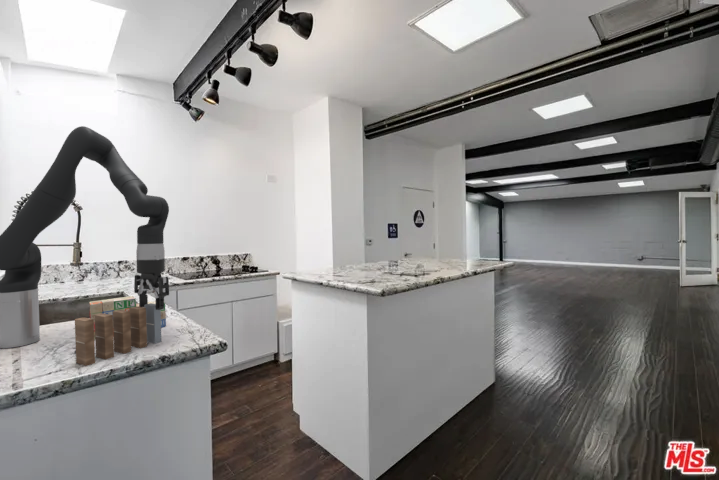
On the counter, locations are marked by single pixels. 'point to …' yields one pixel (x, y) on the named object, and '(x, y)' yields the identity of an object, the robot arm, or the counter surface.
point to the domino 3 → (122, 331)
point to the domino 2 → (104, 336)
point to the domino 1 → (84, 341)
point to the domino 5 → (153, 323)
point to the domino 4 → (138, 327)
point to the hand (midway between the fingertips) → (151, 308)
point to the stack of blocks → (118, 307)
